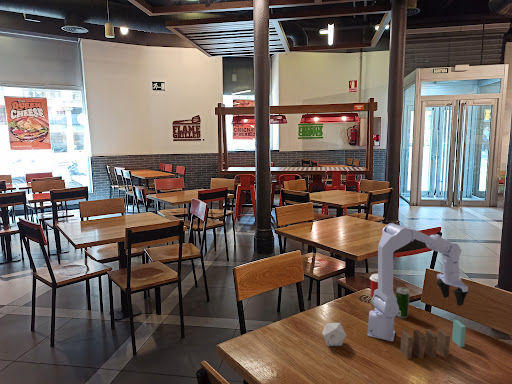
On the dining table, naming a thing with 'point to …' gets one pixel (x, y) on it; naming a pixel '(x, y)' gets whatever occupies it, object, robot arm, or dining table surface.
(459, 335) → the domino
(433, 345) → the domino
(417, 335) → the domino
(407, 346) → the domino
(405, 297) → the beer can
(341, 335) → the die
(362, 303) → the dining table surface
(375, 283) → the paper cup
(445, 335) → the domino
